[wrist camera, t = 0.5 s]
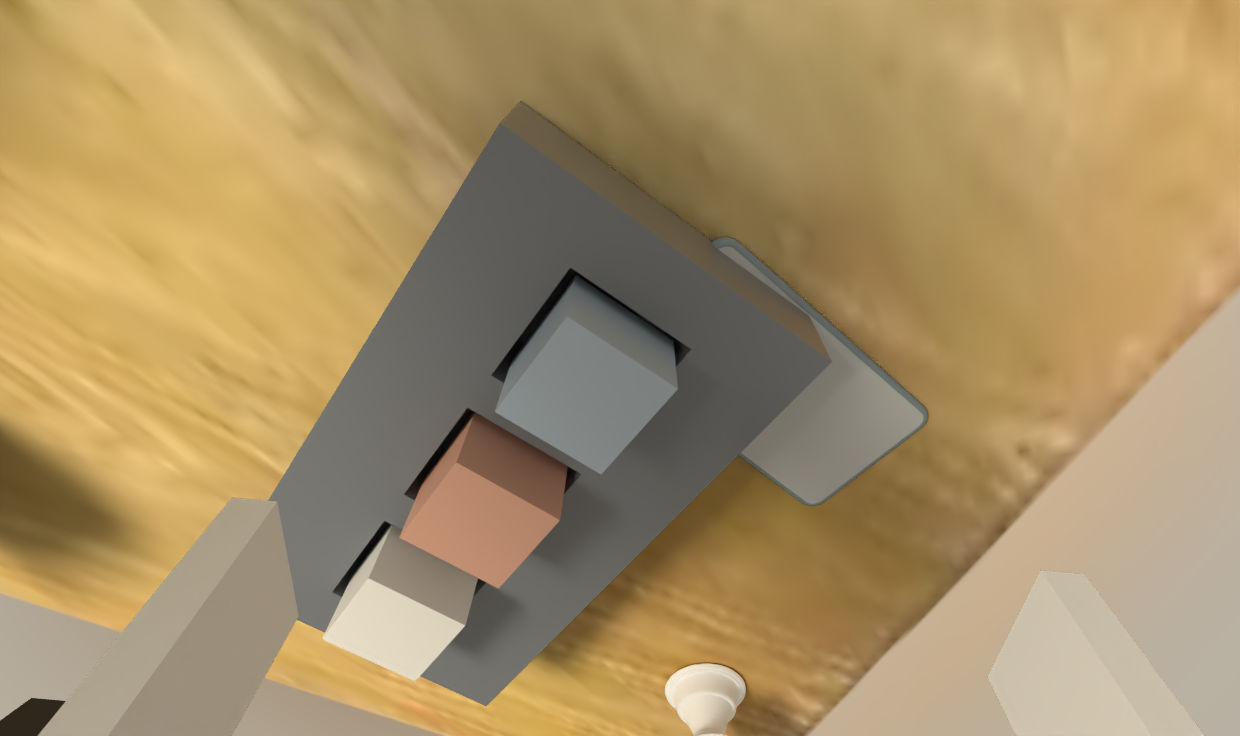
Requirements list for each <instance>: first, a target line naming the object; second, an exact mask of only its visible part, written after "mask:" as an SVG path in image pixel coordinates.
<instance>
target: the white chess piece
mask: <svg viewBox="0 0 1240 736" xmlns="http://www.w3.org/2000/svg"><path fill="white" fill-rule="evenodd" d="M745 693H746V686H745V683H744V681H743V679H742V678H741V676H740V675H739V674H738V673H736V672H735V671H734V670H732V669H730V668H728V667H725V666H722V665H719V664H712V663H701V664H694V665H690V666H687V667H684V668H682V669H680V670H678V671H677V672H675V673H674V674H673V675H672V676H671V677H670V678H669V680H668V681H667V683H666V686H665V696H666V698H667V700H668V702H669V703H670V704H671V705H672V706H673V707H674V708H675V709H676V710H677V712H678V715H679V717H680V718H681V720H682V721H683V722H685V723H686V724H688V726H689V727H690V729H691V731H692V733H693V735H694V736H729V735H725V730H726V727H727V724H728V722H729V721H731V720H732V718H733V717H734V715H735V713H736V708H737V706H738V705H739V704H740V703H741V702H742V700H743V699H744V697H745Z"/></svg>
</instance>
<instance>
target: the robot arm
mask: <svg viewBox="0 0 1240 736" xmlns="http://www.w3.org/2000/svg"><path fill="white" fill-rule="evenodd" d="M298 616H299V615H298V610H297V605H296V599H295V594H294V589H293V583H292V578H291V573H290V567H289V562H288V557H287V551H286V546H285V541H284V535H283V530H282V525H281V519H280V514H279V509H278V504H277V502H276V501H265V500H254V499H243V498H231V500H230V501H229V502H228V503H227V504H226V506H225V507H224V508H223V509H222V511H221V512H220V513H219V514H218V515H217V517H216V518H215V519H214V520H213V522H212V523H211V524H210V525H209V527H208V528H207V529H206V530H205V531H204V533H203V534H202V535H201V536H200V538H199V539H198V540H197V541H196V542H195V544H194V545H193V546H192V547H191V549H190V550H189V551H188V552H187V553H186V555H185V556H184V557H183V558H182V560H181V561H180V562H179V563H178V564H177V566H176V567H175V568H174V569H173V571H172V572H171V573H170V574H169V575H168V577H167V578H166V579H165V580H164V582H163V583H162V584H161V585H160V587H159V588H158V589H157V590H156V591H155V593H154V594H153V595H152V596H151V598H150V599H149V600H148V601H147V602H146V604H145V605H144V606H143V607H142V609H141V610H140V611H139V612H138V613H137V615H136V616H135V617H134V618H133V620H132V621H131V622H130V623H129V624H128V626H127V627H126V628H125V629H124V631H123V632H122V633H121V634H120V636H119V637H118V638H117V639H116V640H115V642H114V643H113V644H112V645H111V647H110V648H109V649H108V650H107V651H106V653H105V654H104V655H103V656H102V658H101V659H100V660H99V661H98V662H97V664H96V665H95V666H94V668H93V669H92V670H91V671H90V672H89V674H88V675H87V676H86V677H85V678H84V680H83V681H82V682H81V683H80V685H79V686H78V687H77V688H76V689H75V691H74V692H73V693H72V694H71V696H70V697H69V698H68V699H67V700H66V701H59V700H47V699H36V698H31V699H30V700H28V701H27V702H25V703H24V704H23V705H21V706H20V707H19V708H17V709H16V710H14V711H13V712H12V713H10V714H9V715H8V716H6V717H5V718H4V719H2V720H1V721H0V736H232V735H233V733H234V731H235V729H236V728H237V726H238V724H239V722H240V720H241V719H242V717H243V715H244V713H245V711H246V710H247V708H248V706H249V704H250V702H251V700H252V699H253V697H254V695H255V693H256V692H257V690H258V688H259V686H260V684H261V683H262V681H263V679H264V677H265V676H266V674H267V672H268V670H269V668H270V667H271V665H272V663H273V661H274V659H275V658H276V656H277V654H278V652H279V650H280V649H281V647H282V645H283V643H284V641H285V640H286V638H287V636H288V634H289V632H290V631H291V629H292V627H293V625H294V623H295V622H296V620H297V618H298ZM987 678H988V680H989V682H990V684H991V686H992V688H993V690H994V692H995V694H996V696H997V698H998V700H999V702H1000V704H1001V706H1002V708H1003V710H1004V712H1005V714H1006V716H1007V718H1008V721H1009V722H1010V725H1011V727H1012V729H1013V731H1014V733H1015V735H1016V736H1204V734H1203V733H1202V732H1201V730H1200V729H1199V728H1198V726H1197V725H1196V724H1195V722H1194V721H1193V720H1192V718H1191V717H1190V716H1189V714H1188V713H1187V712H1186V710H1185V709H1184V708H1183V706H1182V705H1181V703H1180V702H1179V701H1178V699H1177V698H1176V697H1175V695H1174V694H1173V693H1172V691H1171V690H1170V689H1169V687H1168V686H1167V685H1166V683H1165V682H1164V681H1163V679H1162V678H1161V677H1160V675H1159V674H1158V673H1157V671H1156V670H1155V668H1154V667H1153V666H1152V664H1151V663H1150V662H1149V660H1148V659H1147V658H1146V656H1145V655H1144V654H1143V652H1142V651H1141V649H1140V648H1139V647H1138V645H1137V644H1136V643H1135V641H1134V640H1133V639H1132V637H1131V636H1130V635H1129V633H1128V632H1127V631H1126V629H1125V628H1124V627H1123V625H1122V624H1121V623H1120V621H1119V620H1118V619H1117V617H1116V616H1115V614H1114V613H1113V612H1112V610H1111V609H1110V608H1109V606H1108V605H1107V604H1106V602H1105V601H1104V600H1103V598H1102V597H1101V596H1100V594H1099V593H1098V592H1097V590H1096V589H1095V587H1094V586H1093V585H1092V583H1091V582H1090V581H1089V579H1088V578H1087V577H1086V575H1085V574H1077V573H1066V572H1055V571H1042V570H1041V571H1040V572H1039V574H1038V576H1037V579H1036V581H1035V582H1034V585H1033V586H1032V588H1031V590H1030V593H1029V595H1028V596H1027V598H1026V601H1025V602H1024V604H1023V606H1022V608H1021V610H1020V613H1019V615H1018V616H1017V618H1016V621H1015V623H1014V625H1013V627H1012V628H1011V630H1010V632H1009V635H1008V636H1007V639H1006V641H1005V643H1004V645H1003V647H1002V649H1001V651H1000V653H999V655H998V657H997V659H996V661H995V663H994V665H993V667H992V669H991V671H990V673H989V675H988V677H987Z"/></svg>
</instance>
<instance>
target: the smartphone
mask: <svg viewBox="0 0 1240 736" xmlns="http://www.w3.org/2000/svg"><path fill="white" fill-rule="evenodd" d="M712 244H713V245H714V247H716V248H717V249H718V250H720V251H721V252H722V253H724V254H725V255H726V256H728V257H729V258H731V259H732V260H733V261H735V262H736V263H737V264H739V265H740V266H742V267H743V268H744V269H746V270H747V271H748V272H750V273H751V274H753V275H754V276H755V277H757V278H758V279H759V280H761V281H762V282H764V283H765V284H766V285H768V286H769V287H770V288H772V289H773V290H775V291H776V292H777V293H779V294H780V295H781V296H783V297H784V298H786V299H787V300H788V301H790V302H791V303H792V304H794V305H795V306H797V307H798V308H799V309H801V310H802V311H803V312H805V313H806V314H808V315H809V316H810V318H811V320H812V322H813V324H814V326H815V328H816V330H817V332H818V334H819V336H820V338H821V340H822V342H823V344H824V346H825V348H826V350H827V352H828V354H829V356H830V358H831V360H832V362H831V363H830V364H829V365H828V366H827V367H826V368H825V369H824V370H823V371H822V372H821V373H820V374H819V375H818V376H817V377H816V378H815V379H814V380H813V381H812V382H811V383H810V384H809V385H808V386H807V387H806V388H805V389H804V390H803V391H802V392H801V393H800V394H799V395H798V396H797V397H796V398H795V399H794V400H793V401H792V402H791V403H790V404H789V405H788V406H787V407H786V408H785V409H784V410H783V411H782V412H781V413H780V414H779V415H778V416H777V417H776V418H775V419H774V420H773V421H772V422H771V423H770V424H769V425H768V426H767V427H766V428H765V429H764V430H763V431H762V432H761V433H760V434H759V435H758V436H757V437H756V438H755V439H754V440H753V441H752V442H751V443H750V444H749V445H748V446H747V447H746V448H745V449H744V450H743V451H742V452H741V453H740V454H739V456H740V457H741V458H743V459H744V460H745V461H747V462H748V463H749V464H751V465H752V466H753V467H755V468H756V469H757V470H759V471H760V472H761V473H763V474H764V475H765V476H767V477H768V478H769V479H771V480H772V481H773V482H775V483H776V484H777V485H779V486H780V487H781V488H783V489H784V490H785V491H787V492H788V493H789V494H791V495H792V496H793V497H795V498H796V499H797V500H799V501H800V502H801V503H803V504H805V505H808V506H816V505H820V504H822V503H824V502H825V501H826V500H827V499H829V498H830V497H831V496H833V495H834V494H835V493H837V492H838V491H839V490H841V489H842V488H843V487H844V486H846V485H847V484H848V483H850V482H851V481H852V480H854V479H855V478H856V477H858V476H859V475H860V474H861V473H863V472H864V471H865V470H867V469H868V468H869V467H871V466H872V465H873V464H875V463H876V462H877V461H878V460H880V459H881V458H882V457H884V456H885V455H886V454H888V453H889V452H890V451H892V450H893V449H894V448H895V447H897V446H898V445H899V444H901V443H902V442H903V441H905V440H906V439H907V438H909V437H910V436H911V435H912V434H914V433H915V432H916V431H918V430H919V429H920V428H922V427H923V426H924V424H925V423H926V421H927V417H928V414H927V410H926V408H925V407H924V406H923V405H922V404H921V403H920V402H919V401H918V400H917V399H916V398H915V397H913V396H912V395H911V394H910V393H909V392H908V391H907V390H906V389H905V388H903V387H902V386H901V385H900V384H899V383H898V382H897V381H896V380H894V379H893V378H892V377H891V376H890V375H889V374H888V373H887V372H885V371H884V370H883V369H882V368H881V367H880V366H879V365H878V364H876V363H875V362H874V361H873V360H872V359H871V358H870V357H868V356H867V355H866V354H865V353H864V352H863V351H862V350H861V349H859V348H858V347H857V346H856V345H855V344H854V343H853V342H852V341H850V340H849V339H848V338H847V337H846V336H845V335H844V334H843V333H841V332H840V331H839V330H838V329H837V328H836V327H835V326H834V325H832V324H831V323H830V322H829V321H828V320H827V319H826V318H824V317H823V316H822V315H821V314H820V313H819V312H818V311H817V310H815V309H814V308H813V307H812V306H811V305H810V304H809V303H808V302H806V301H805V300H804V299H803V298H802V297H801V296H800V295H799V294H797V293H796V292H795V291H794V290H793V289H792V288H791V287H790V286H789V285H788V284H787V283H785V282H784V281H783V280H782V279H781V278H780V277H779V276H778V275H776V274H775V273H774V272H773V271H771V270H770V269H769V268H768V267H767V266H766V265H765V264H764V263H762V262H761V261H760V260H759V259H758V258H757V257H756V256H754V255H753V254H752V253H751V252H750V251H749V250H748V249H747V248H745V247H744V246H743V245H742V244H741V243H740V242H739V241H737V240H736V239H734V238H731V237H721V238H718V239H716V240H714V241H713V242H712Z"/></svg>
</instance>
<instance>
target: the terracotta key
mask: <svg viewBox="0 0 1240 736" xmlns="http://www.w3.org/2000/svg"><path fill="white" fill-rule="evenodd" d="M567 469H568V466H567V465H565V464H563V463H562V462H560V461H558V460H556V459H555V458H553V457H551V456H550V455H548V454H546V453H544V452H543V451H541V450H539V449H538V448H536V447H534V446H532V445H531V444H529V443H527V442H526V441H524V440H522V439H520V438H519V437H517V436H515V435H514V434H512V433H510V432H508V431H507V430H505V429H503V428H502V427H500V426H498V425H496V424H495V423H493V422H491V421H490V420H488V419H486V418H484V417H483V416H481V415H479V414H478V413H476V412H474V413H473V414H472V415H471V417H470V418H469V419H468V421H467V422H466V424H465V425H464V426H463V428H462V429H461V430H460V432H459V433H458V434H457V436H456V437H455V438H454V440H453V441H452V442H451V444H450V445H449V446H448V448H447V449H446V450H445V452H444V453H443V455H442V456H441V457H440V459H439V460H438V461H437V463H436V464H435V465H434V467H433V468H432V469H431V471H430V472H429V473H428V475H427V476H426V477H425V479H424V480H423V483H422V485H421V487H420V490H419V492H418V494H417V497H416V499H415V502H414V504H413V506H412V509H411V511H410V513H409V516H408V518H407V520H406V523H405V525H404V527H403V530H402V532H401V534H400V537H399V538H401V539H403V540H405V541H407V542H408V543H410V544H412V545H414V546H416V547H418V548H420V549H422V550H424V551H426V552H428V553H430V554H432V555H434V556H436V557H438V558H440V559H442V560H444V561H446V562H448V563H450V564H452V565H453V566H455V567H457V568H459V569H461V570H463V571H465V572H467V573H469V574H471V575H473V576H475V577H477V578H479V579H481V580H483V581H485V582H487V583H489V584H491V585H493V586H495V587H496V588H498V589H499V588H500V586H501V585H502V584H503V583H504V582H505V581H506V580H507V579H508V578H509V576H510V575H511V574H512V573H513V572H514V571H515V570H516V569H517V568H518V566H519V565H520V564H521V563H522V562H523V561H524V560H525V559H526V558H527V556H528V555H529V554H530V553H531V552H532V551H533V550H534V549H535V548H536V546H537V545H538V544H539V543H540V542H541V541H542V540H543V539H544V538H545V536H546V535H547V534H548V533H549V532H550V531H551V530H552V529H553V527H554V526H555V525H556V524H557V523H558V522H559V521H560V517H561V510H562V503H563V496H564V489H565V483H566V476H567Z"/></svg>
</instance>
